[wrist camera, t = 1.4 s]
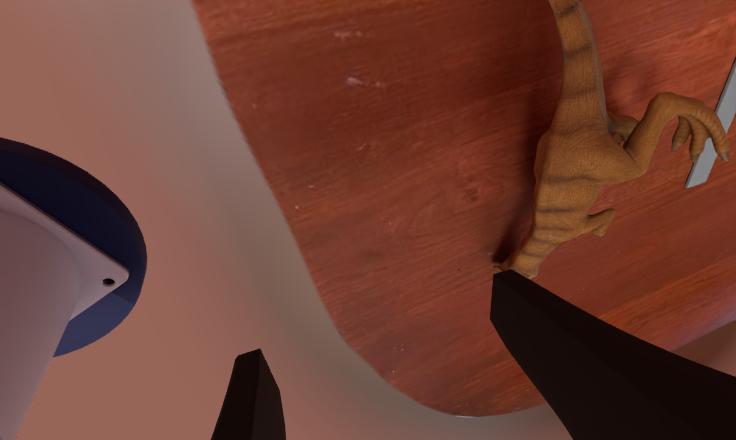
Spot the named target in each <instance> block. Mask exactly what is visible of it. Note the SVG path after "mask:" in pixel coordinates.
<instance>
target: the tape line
mask: <svg viewBox="0 0 736 440" xmlns="http://www.w3.org/2000/svg"><path fill="white" fill-rule="evenodd" d="M715 113H716V114H717V116H718V117H719V119H720V121H721V123H722V126H723V128H724V130H725V132H726V133H727V131H728V129H729V126H730V124H731V122H732V119H733V117H734V115H735V113H736V60H735V63H734V65H733V68H732V70H731V73H730V75H729V78H728V80H727V83H726V85H725V88H724V90H723V93H722V95H721V98H720V100H719V103H718V105H717V108H716V110H715ZM717 154H718V153H716V152H715V150H714V146H713V143H712V140H711V138H708V139H707V140H706V142H705V148H704V151H703V152H702V153H701V154H700V156H699V158H698V161H697V162H695V163H694V165H693V168H692V170H691V173H690V175H689V178H688V180H687V183H686V185H685V188H689V187H692V186H695V185H698V184H700V183H703V182H706V180H707V177H708V175H709V173H710V170H711V168H712V166H713V163H714V161H715V159H716V156H717Z"/></svg>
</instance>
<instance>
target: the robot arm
mask: <svg viewBox="0 0 736 440" xmlns="http://www.w3.org/2000/svg"><path fill="white" fill-rule="evenodd" d="M129 273H130V272H129V269H128V268H127V267H126V266H124V265H123V264H121V263H120V262H118V261H117V260H115V259H114V258H112V257H111V256H109V255H108V254H106V253H105V252H103V251H102V250H101V249H99V248H98V247H96V246H95V245H93V244H92V243H90V242H89V241H87V240H86V239H84V238H83V237H81V236H80V235H78V234H77V233H75V232H74V231H73V230H71V229H70V228H68V227H67V226H65V225H64V224H62V223H61V222H59V221H58V220H56V219H55V218H53V217H52V216H50V215H49V214H47V213H46V212H44V211H43V210H42V209H40V208H39V207H37V206H36V205H34V204H33V203H31V202H30V201H28V200H27V199H25V198H24V197H22V196H21V195H19V194H18V193H16V192H15V191H13V190H12V189H11V188H9V187H8V186H6V185H5V184H3V183H2V182H0V440H16V438H17V436H18V433H19V431H20V429H21V427H22V424H23V422H24V420H25V418H26V415H27V413H28V411H29V409H30V406H31V404H32V402H33V400H34V398H35V395H36V393H37V391H38V389H39V386H40V384H41V382H42V380H43V377H44V375H45V373H46V371H47V369H48V366H49V364H50V362H51V360H52V357H53V355H54V353H55V351H56V349H57V346H58V344H59V342H60V340H61V337H62V335H63V333H64V331H65V328H66V326H67V324H68V322H69V321H70V320H71V319H73V318H74V317H75V316H77V315H78V314H80V313H81V312H83V311H84V310H85V309H87V308H88V307H90V306H91V305H93V304H94V303H95V302H97V301H98V300H100V299H101V298H103V297H104V296H105V295H107V294H108V293H110V292H111V291H113V290H114V289H115V288H117V287H118V286H120V285H121V284H123V283H124V282H125V281H126V280H127V279H128V276H129ZM106 278H110V279H113V280H114V281H106V280H105V279H106ZM490 320H491V322H492V324H493V325H494V327H495V329H496V331H497V333H498V334H499V336H500V338H501V339H502V341H503V343H504V344H505V346H506V348H507V349H508V350H509V352H510V353H511V355H512V356H513V357H514V359H515V360H516V361H517V363H518V364H519V365H520V367H521V368H522V369H523V371H524V372H525V373H526V375H527V376H528V377H529V379H530V380H531V381H532V383H533V384H534V385H535V386H536V388H537V389H538V390H539V392H540V393H541V394H542V396H543V397H544V398H545V400H546V401H547V402H548V404H549V405H550V406H551V407H552V409H553V410H554V411H555V413H556V414H557V416H558V417H559V419H560V420H561V421H562V423H563V424H564V426H565V427H566V429H567V430H568V432H569V433H570V435H571V437H572V438H573V440H736V377H735V376H732V375H729V374H726V373H723V372H720V371H718V370H715V369H713V368H710V367H707V366H704V365H702V364H699V363H696V362H694V361H691V360H689V359H686V358H683V357H681V356H679V355H676V354H674V353H671V352H669V351H667V350H664V349H662V348H660V347H657V346H655V345H653V344H650V343H648V342H646V341H644V340H641V339H639V338H637V337H635V336H633V335H631V334H628V333H626V332H624V331H622V330H620V329H618V328H616V327H614V326H612V325H610V324H608V323H606V322H604V321H602V320H600V319H598V318H597V317H595V316H593V315H591V314H589V313H587V312H585V311H583V310H582V309H580V308H578V307H576V306H574V305H573V304H571V303H569V302H567V301H565V300H564V299H562V298H560V297H559V296H557V295H555V294H553V293H552V292H550V291H548V290H547V289H545V288H543V287H541V286H540V285H538V284H536V283H535V282H533V281H531V280H530V279H528V278H526V277H524V276H523V275H521V274H519V273H518V272H516V271H514V270H512V269H509V270H506V271H503V272H499V273H496V274H493V286H492V299H491V311H490ZM211 440H286V432H285V422H284V416H283V409H282V403H281V396H280V390H279V388H278V386H277V384H276V381H275V379H274V377H273V375H272V373H271V371H270V369H269V366H268V364H267V362H266V360H265V358H264V356H263V354H262V351H261V349H257V350H254V351H251V352H247V353H245V354H241V355H238V356H237V358H236V359H235V363H234V367H233V371H232V375H231V378H230V382H229V386H228V389H227V392H226V396H225V399H224V402H223V406H222V409H221V412H220V415H219V417H218V421H217V423H216V426H215V429H214V432H213V435H212V438H211Z"/></svg>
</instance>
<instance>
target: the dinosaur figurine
mask: <svg viewBox="0 0 736 440" xmlns="http://www.w3.org/2000/svg"><path fill="white" fill-rule="evenodd" d="M548 1H549V3H550V6H551V8H552V10H553V13H554V17H555V21H556V24H557V27H558V31H559V35H560V39H561V44H562V54H563V77H562V85H561V91H560V97H559V102H558V106H557V109H556V112H555V116H554V119H553V121H552V124H551V127H550V129H549V130H548V131H546V132H545V133H544V134H543V135H542V136H541V138H540V140H539V142H538V145H537V153H536V161H535V165H534V175H535V177H536V185H535V189H534V196H533V205H534V206H533V220H532V225H531V228H530V230H529V232H528V234H527V235H526V237H525V238H524V240H523V241H522V243H521V245H520V246H519V247H518V249H517V250H516V251H515V252H513V253H512V254H510V255H509V256H508V257H507V259H506V261H505V262H504V263H502V264H501V265H500V266H494V267H493V268H494V269H495V270H497V271H498V272H503V271H506V270H509V269H512V270H514V271H516V272H518V273H519V274H521V275H523V276H524V277H526V278H528V279H531V278H533V277H536V276H537V275H538V272H539V265H540V263H541V262H542V261H543V260H544V259H545V258H547V257H548V256H549V255H550V254H551V253H552V251H553V250H554V249H555V248H557V246H558V245H559V244H560V243H562V242H564V241H567V240H571V239H573V238H574V237H576V236H578V235H580V234H583V233H587V232H590V231H591V232H592V233H593V234H594V235H598V236H603V235H604V234H605V232H606V229H607V226H609V225H610V223H611V222H612V220H613V217H614V215H615V213H616V209H606V210H604V211H601V212H599V213H596V214H594V215H588V212H589V209H590V208H591V207H592V205H593V204H594V202H595V200H596V199H597V197H598V195H599V193H600V190H601V187H602V184H615V183H622V182H625V181H628V180H631V179H634V178H638V177H640V176H642V175H643V174H644V173H645V172H646V170H647V169H648V167H649V164H650V159H651V157H652V154H653V152H654V150H655V147H656V145H657V142H658V140H659V137H660V135H661V132H662V129H663V127H664V125H665V124H666V123H667V122H668V121H669V120H670V119H671V118H673V117H674V116H676V115H678V117H679V124H678V127H677V130H676V131H675V134H674V136H673V139H672V148H671V151H672V152H673V151H676V150H677V148H678V147H679V146H681V145H683V144H684V143H685V142H686V140H687V138H688V137H689V135H690V134H692V137H691V142H690V148H689V152H690V157H691V160H692V161H693V162H697V161H698V158H699V156H700V154H701V153H702V152H703V151H704V148H705V142H706V140H707V139H708V138H711V140H712V143H713V146H714V150H715V152H716V153H718V154H719V156H720V157H721V159H722V160H723V161H728V160H729V155H728V152H729V148H730V145H729V142H728V140H727V136H726V132H725V130H724V128H723V126H722V123H721V121H720V119H719V117H718V116H717V114H716V113H715V112H714V111H713V110H712V109H711V108H709V107H707V106H705V104H704V102H703V101H701V100H698V99H694V98H689V97H685V96H680V95H676V94H674V93H671V92H665V93H658V94H657V95H656V96H655V97H654V98H653V99H651V101H650V102H649V104H648V107H647V110H646V112H645V114H644V117H643V118H642V120H641V121H638V120H636V119H635V118H633V117H630V116H620V115H615V114H613V113H612V112H611V111H607V110H606V99H605V93H604V88H603V77H602V68H601V64H600V58H599V52H598V47H597V42H596V38H595V34H594V30H593V27H592V24H591V21H590V18H589V16H588V14H587V11H586V9H585V7H584V5H583V3H582V1H581V0H548ZM612 131H615V133H614V134H613V136H612V137H611V135H612ZM622 141H624V145H623V147H622V146H621V145H620V142H622Z"/></svg>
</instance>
